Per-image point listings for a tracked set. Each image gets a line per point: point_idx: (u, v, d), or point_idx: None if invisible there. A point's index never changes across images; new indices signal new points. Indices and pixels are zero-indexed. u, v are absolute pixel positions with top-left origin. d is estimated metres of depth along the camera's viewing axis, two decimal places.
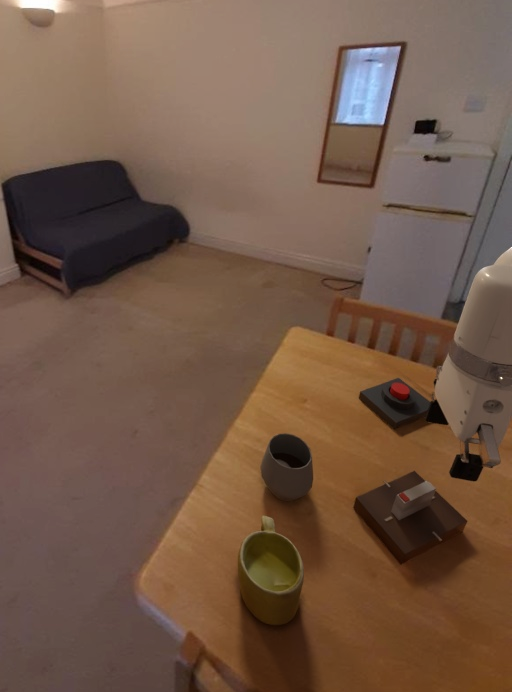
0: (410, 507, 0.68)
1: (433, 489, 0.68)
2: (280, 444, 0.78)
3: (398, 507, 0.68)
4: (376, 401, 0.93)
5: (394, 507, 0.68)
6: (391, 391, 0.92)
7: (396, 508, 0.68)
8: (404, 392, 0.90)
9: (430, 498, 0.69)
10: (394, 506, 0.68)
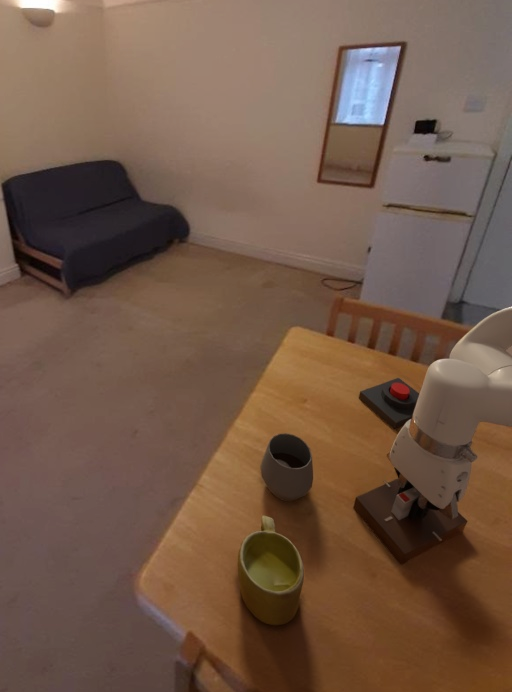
0: (410, 507, 0.68)
1: None
2: (280, 444, 0.78)
3: (398, 507, 0.68)
4: (376, 401, 0.93)
5: (394, 507, 0.68)
6: (391, 391, 0.92)
7: (396, 508, 0.68)
8: (404, 392, 0.90)
9: None
10: (394, 506, 0.68)
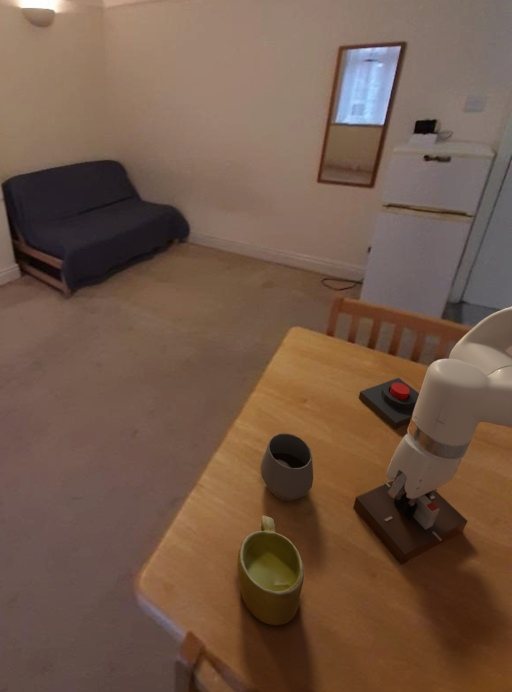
0: None
1: None
2: (280, 444, 0.78)
3: (433, 518, 0.66)
4: (376, 401, 0.93)
5: (429, 523, 0.66)
6: (391, 391, 0.92)
7: (431, 521, 0.66)
8: (404, 392, 0.90)
9: None
10: (429, 522, 0.66)
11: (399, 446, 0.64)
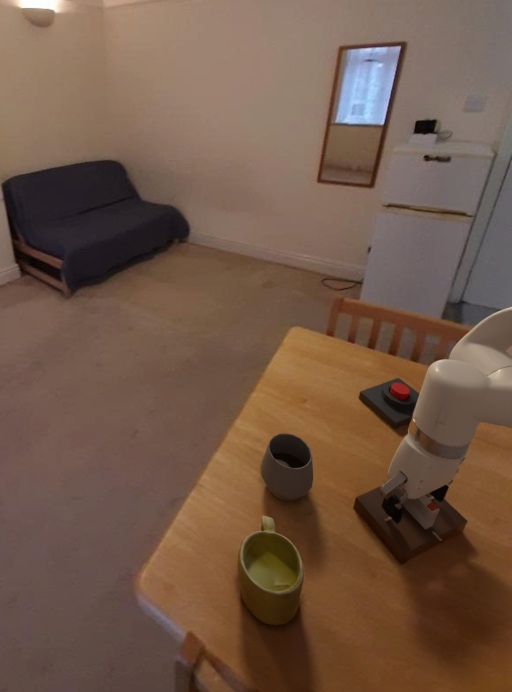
0: None
1: None
2: (280, 444, 0.78)
3: (433, 518, 0.66)
4: (376, 401, 0.93)
5: (429, 523, 0.66)
6: (391, 391, 0.92)
7: (431, 521, 0.66)
8: (404, 392, 0.90)
9: None
10: (429, 522, 0.66)
11: (400, 447, 0.64)
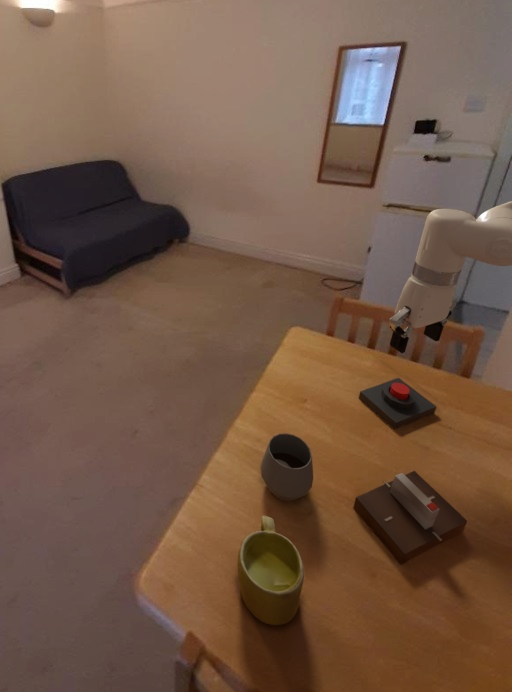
0: None
1: (404, 475, 0.71)
2: (280, 444, 0.78)
3: (433, 518, 0.66)
4: (376, 401, 0.93)
5: (429, 523, 0.66)
6: (391, 391, 0.92)
7: (431, 521, 0.66)
8: (404, 392, 0.90)
9: None
10: (429, 522, 0.66)
11: (405, 286, 0.80)
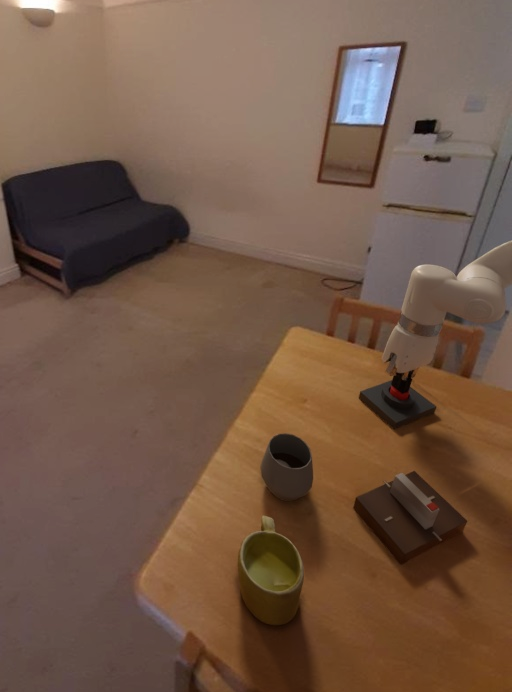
0: None
1: (404, 475, 0.71)
2: (280, 444, 0.78)
3: (433, 518, 0.66)
4: (376, 401, 0.93)
5: (429, 523, 0.66)
6: (391, 392, 0.92)
7: (431, 521, 0.66)
8: (404, 393, 0.91)
9: None
10: (429, 522, 0.66)
11: (391, 334, 0.86)
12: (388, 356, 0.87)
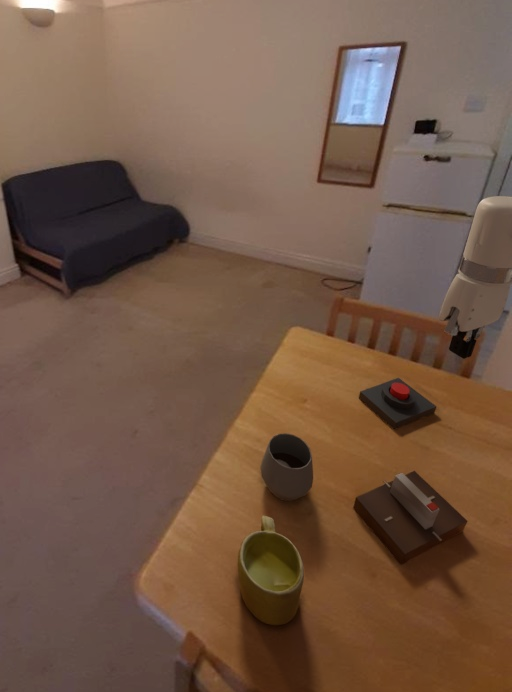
0: None
1: (404, 475, 0.71)
2: (280, 444, 0.78)
3: (433, 518, 0.66)
4: (376, 401, 0.93)
5: (429, 523, 0.66)
6: (391, 391, 0.92)
7: (431, 521, 0.66)
8: (404, 392, 0.90)
9: None
10: (429, 522, 0.66)
11: (451, 285, 0.72)
12: (448, 312, 0.73)
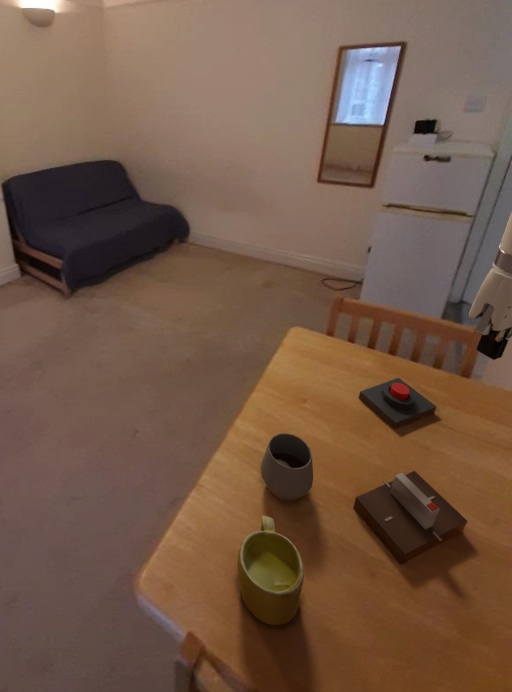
0: None
1: (404, 475, 0.71)
2: (280, 444, 0.78)
3: (433, 518, 0.66)
4: (376, 401, 0.93)
5: (429, 523, 0.66)
6: (391, 391, 0.92)
7: (431, 521, 0.66)
8: (404, 392, 0.90)
9: None
10: (429, 522, 0.66)
11: (485, 280, 0.66)
12: (480, 309, 0.67)
